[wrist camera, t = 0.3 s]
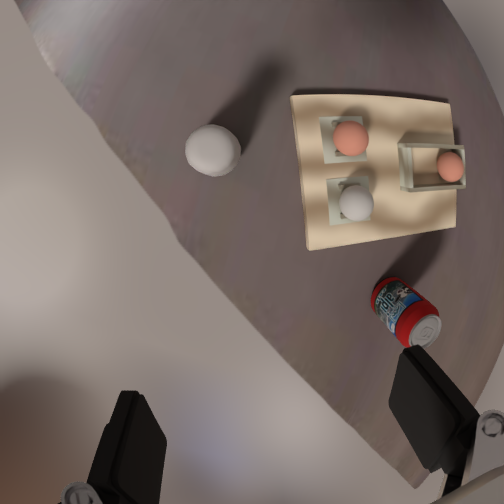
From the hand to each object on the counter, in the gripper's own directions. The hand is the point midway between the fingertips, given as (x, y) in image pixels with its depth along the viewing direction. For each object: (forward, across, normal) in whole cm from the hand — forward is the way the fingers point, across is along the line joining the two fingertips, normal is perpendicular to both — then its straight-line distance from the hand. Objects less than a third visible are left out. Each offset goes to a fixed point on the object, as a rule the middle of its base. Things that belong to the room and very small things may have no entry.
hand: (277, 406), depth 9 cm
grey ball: (+28, -14, -2) cm, 32 cm away
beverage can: (+30, -22, +14) cm, 40 cm away
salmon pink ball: (+28, -14, -10) cm, 33 cm away
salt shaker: (+30, +2, -9) cm, 31 cm away
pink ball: (+28, -31, -6) cm, 42 cm away
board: (+30, -21, -6) cm, 37 cm away
